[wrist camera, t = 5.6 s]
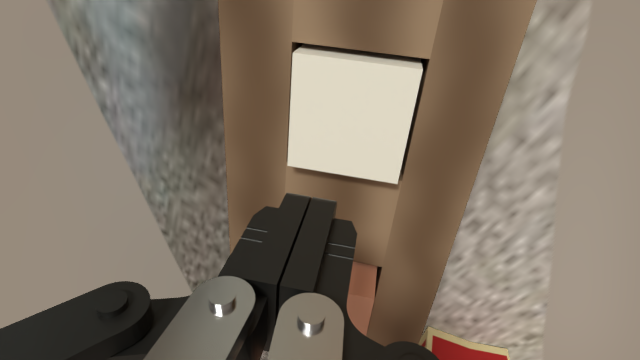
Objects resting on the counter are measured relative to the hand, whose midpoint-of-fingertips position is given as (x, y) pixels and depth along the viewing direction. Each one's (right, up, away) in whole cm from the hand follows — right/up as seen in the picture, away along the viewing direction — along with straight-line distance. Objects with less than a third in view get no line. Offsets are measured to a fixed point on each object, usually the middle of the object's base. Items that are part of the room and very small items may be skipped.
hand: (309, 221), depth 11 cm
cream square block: (+2, +6, +11) cm, 13 cm away
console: (+3, +2, +17) cm, 17 cm away
